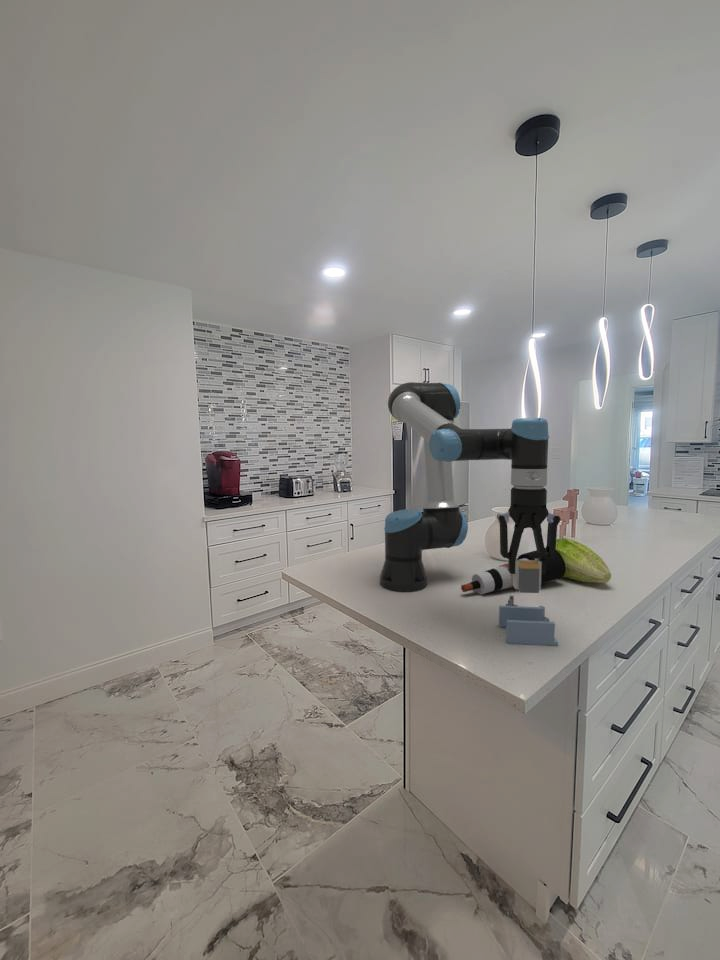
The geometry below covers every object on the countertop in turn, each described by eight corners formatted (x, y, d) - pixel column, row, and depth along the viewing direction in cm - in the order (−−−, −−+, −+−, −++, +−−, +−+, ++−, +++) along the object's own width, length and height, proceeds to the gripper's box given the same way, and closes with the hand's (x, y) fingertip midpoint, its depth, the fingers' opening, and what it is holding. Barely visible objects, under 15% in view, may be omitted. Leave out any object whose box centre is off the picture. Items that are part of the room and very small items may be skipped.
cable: (460, 607, 121) (449, 574, 125) (548, 581, 133) (536, 551, 136) (477, 604, 112) (465, 568, 116) (570, 576, 124) (557, 544, 127)
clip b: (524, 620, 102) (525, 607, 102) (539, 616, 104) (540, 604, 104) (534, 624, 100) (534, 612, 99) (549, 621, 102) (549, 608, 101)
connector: (520, 592, 91) (520, 564, 91) (515, 586, 95) (515, 559, 95) (539, 593, 91) (539, 565, 90) (533, 587, 95) (534, 560, 94)
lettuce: (587, 576, 118) (619, 547, 120) (531, 549, 138) (559, 525, 140) (599, 606, 122) (629, 578, 125) (543, 576, 142) (570, 552, 145)
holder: (507, 643, 91) (507, 621, 90) (498, 625, 100) (499, 605, 99) (557, 645, 90) (558, 623, 89) (544, 627, 98) (545, 607, 98)
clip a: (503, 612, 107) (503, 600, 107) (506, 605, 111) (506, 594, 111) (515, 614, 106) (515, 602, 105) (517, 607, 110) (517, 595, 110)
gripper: (492, 489, 89) (491, 592, 91) (575, 488, 87) (572, 594, 89) (486, 485, 96) (485, 580, 98) (562, 485, 94) (559, 582, 96)
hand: (526, 587), depth 94 cm, fingers closed on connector, 4 cm apart
